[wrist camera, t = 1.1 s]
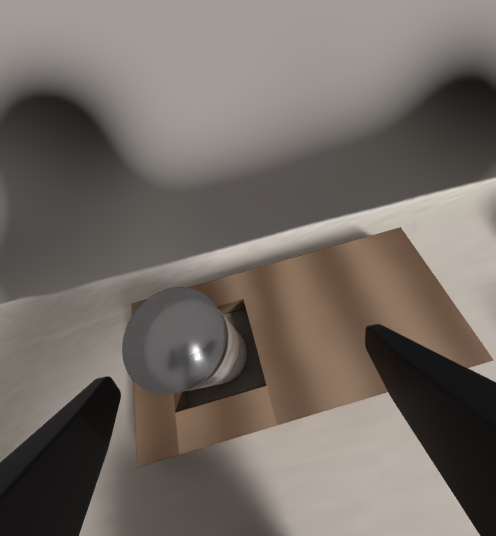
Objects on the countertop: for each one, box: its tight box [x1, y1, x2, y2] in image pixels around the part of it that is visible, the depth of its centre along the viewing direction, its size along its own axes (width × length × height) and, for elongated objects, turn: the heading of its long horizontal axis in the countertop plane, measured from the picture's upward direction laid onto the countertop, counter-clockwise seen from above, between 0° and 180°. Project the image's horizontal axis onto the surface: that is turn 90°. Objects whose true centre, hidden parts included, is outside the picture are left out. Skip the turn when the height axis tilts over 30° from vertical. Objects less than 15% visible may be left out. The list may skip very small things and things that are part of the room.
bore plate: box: [132, 227, 493, 467], centre depth 20 cm, size 26×12×3 cm, turn 105°
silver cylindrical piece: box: [122, 287, 247, 394], centre depth 16 cm, size 5×5×11 cm
